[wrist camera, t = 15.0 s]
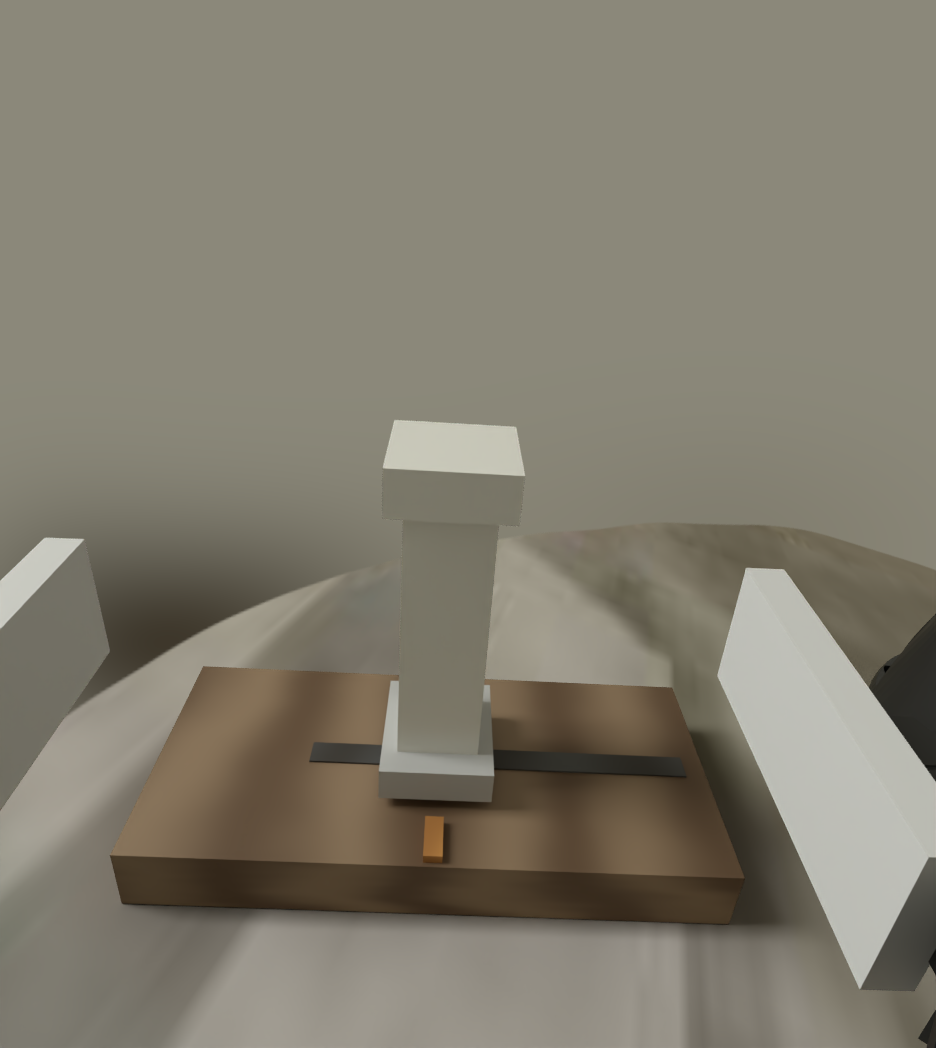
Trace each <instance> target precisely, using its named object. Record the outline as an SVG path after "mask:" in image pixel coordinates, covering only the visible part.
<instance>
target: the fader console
mask: <svg viewBox="0 0 936 1048" xmlns="http://www.w3.org/2000/svg"><path fill="white" fill-rule="evenodd" d="M391 681H399V675H381V674H359V673H337V672H315V671H293V670H271V669H249V668H227V667H204V666H203V668H202V670H201V672H200V674H199V676H198V678H197V680H196V682H195V684H194V686H193V688H192V690H191V692H190V694H189V697H188V699H187V701H186V703H185V705H184V707H183V709H182V711H181V713H180V715H179V717H178V719H177V721H176V723H175V725H174V727H173V729H172V731H171V733H170V735H169V737H168V739H167V741H166V743H165V745H164V747H163V749H162V751H161V753H160V755H159V757H158V759H157V761H156V763H155V765H154V767H153V769H152V772H151V774H150V776H149V778H148V780H147V782H146V784H145V786H144V788H143V790H142V792H141V794H140V796H139V798H138V800H137V802H136V804H135V806H134V808H133V810H132V812H131V814H130V816H129V818H128V820H127V822H126V824H125V826H124V828H123V830H122V832H121V834H120V836H119V838H118V840H117V842H116V844H115V846H114V849H113V851H112V853H111V855H110V857H111V861H112V865H113V869H114V873H115V877H116V882H117V886H118V890H119V894H120V898H121V902H122V903H127V904H156V905H185V906H214V907H243V908H272V909H301V910H330V911H359V912H388V913H417V914H446V915H476V916H505V917H534V918H563V919H592V920H621V921H650V922H679V923H708V924H729V922H730V919H731V916H732V913H733V911H734V908H735V905H736V902H737V899H738V897H739V894H740V891H741V888H742V885H743V883H744V880H745V877H744V875H743V872H742V869H741V867H740V864H739V862H738V859H737V856H736V854H735V851H734V848H733V846H732V843H731V841H730V838H729V835H728V833H727V830H726V827H725V825H724V822H723V820H722V817H721V814H720V812H719V809H718V807H717V804H716V801H715V799H714V796H713V793H712V791H711V788H710V786H709V783H708V780H707V778H706V775H705V772H704V770H703V767H702V765H701V762H700V759H699V757H698V754H697V752H696V749H695V746H694V744H693V741H692V738H691V736H690V733H689V731H688V728H687V725H686V723H685V720H684V717H683V715H682V712H681V710H680V707H679V704H678V702H677V699H676V696H675V694H674V691H673V689H672V688H667V687H645V686H623V685H601V684H579V683H557V682H535V681H513V680H491V679H485V681H484V685H490V700H491V720H492V740H493V761H494V783H493V792H492V801H491V802H472V801H446V800H421V799H396V798H378V796H379V765H380V758H381V750H382V743H383V736H384V728H385V721H386V713H387V706H388V698H389V691H390V683H391Z"/></svg>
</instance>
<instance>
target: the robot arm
mask: <svg viewBox="0 0 936 1048" xmlns="http://www.w3.org/2000/svg"><path fill="white" fill-rule="evenodd" d="M109 652H110V649H109V645H108V641H107V636H106V632H105V628H104V623H103V619H102V614H101V610H100V606H99V601H98V597H97V593H96V588H95V584H94V579H93V575H92V570H91V566H90V562H89V557H88V553H87V548H86V544H85V540H84V539H64V538H62V539H61V538H44V539H43V540H42V541H41V542H40V543H39V544H38V545H37V546H36V547H35V548H34V549H33V550H32V551H31V552H30V553H29V554H28V555H27V556H26V557H24V558H23V559H22V560H21V561H20V562H19V563H18V564H17V565H16V566H15V567H14V568H13V569H12V570H11V571H10V572H9V573H8V574H7V575H6V576H5V577H4V578H3V579H2V580H1V581H0V810H1V809H2V807H3V806H4V805H5V803H6V802H7V800H8V799H9V797H10V796H11V794H12V793H13V791H14V790H15V789H16V787H17V786H18V784H19V783H20V781H21V780H22V778H23V777H24V776H25V774H26V773H27V771H28V770H29V768H30V767H31V765H32V764H33V762H34V761H35V760H36V758H37V757H38V755H39V754H40V752H41V751H42V749H43V748H44V746H45V745H46V744H47V742H48V741H49V739H50V738H51V736H52V735H53V733H54V732H55V730H56V729H57V728H58V726H59V725H60V723H61V722H62V720H63V719H64V717H65V716H66V714H67V713H68V712H69V710H70V708H71V707H72V706H73V704H74V702H75V701H76V700H77V698H78V697H79V696H80V694H81V693H82V691H83V690H84V688H85V687H86V685H87V684H88V682H89V681H90V680H91V678H92V677H93V675H94V674H95V672H96V671H97V669H98V668H99V666H100V665H101V663H102V662H103V661H104V659H105V658H106V656H107V655H108V653H109ZM717 676H718V678H719V680H720V682H721V684H722V687H723V689H724V691H725V693H726V696H727V698H728V700H729V702H730V704H731V707H732V709H733V711H734V713H735V715H736V718H737V720H738V722H739V724H740V726H741V729H742V731H743V733H744V735H745V737H746V740H747V742H748V744H749V746H750V748H751V751H752V753H753V755H754V757H755V759H756V762H757V764H758V766H759V768H760V770H761V773H762V775H763V777H764V779H765V781H766V784H767V786H768V788H769V790H770V792H771V795H772V797H773V799H774V801H775V803H776V806H777V808H778V810H779V812H780V815H781V817H782V819H783V821H784V823H785V826H786V828H787V830H788V832H789V834H790V837H791V839H792V841H793V843H794V845H795V848H796V850H797V852H798V854H799V856H800V859H801V861H802V863H803V865H804V867H805V870H806V872H807V874H808V876H809V878H810V881H811V883H812V885H813V887H814V889H815V892H816V894H817V896H818V898H819V900H820V903H821V905H822V907H823V909H824V911H825V914H826V916H827V918H828V920H829V922H830V925H831V927H832V929H833V931H834V934H835V936H836V938H837V940H838V942H839V945H840V947H841V949H842V951H843V953H844V956H845V958H846V960H847V962H848V964H849V967H850V969H851V971H852V973H853V975H854V978H855V980H856V982H857V984H858V986H859V989H860V990H892V991H915V989H916V988H917V986H918V984H919V982H920V981H921V979H922V977H923V976H924V974H925V972H926V970H927V969H928V967H929V965H930V966H931V967H932V969H933V971H934V973H935V975H936V614H935V615H934V616H933V617H932V618H931V619H930V620H929V621H928V622H927V623H926V624H925V625H924V626H923V627H922V628H921V629H920V631H919V632H918V633H917V634H916V635H915V636H914V637H913V638H912V640H911V641H910V642H909V643H908V645H907V646H906V647H905V649H904V650H903V652H902V653H901V654H900V655H897V656H895V657H893V658H892V659H890V660H889V661H887V662H886V663H885V664H884V665H883V666H882V667H881V668H880V669H879V670H878V672H877V673H876V675H875V676H874V678H873V680H872V681H871V684H870V686H869V688H868V686H867V685H866V683H865V682H864V681H863V679H862V678H861V676H860V675H859V674H858V672H857V671H856V669H855V668H854V667H853V665H852V664H851V662H850V661H849V660H848V658H847V657H846V655H845V654H844V653H843V651H842V650H841V648H840V647H839V646H838V644H837V643H836V641H835V640H834V639H833V637H832V636H831V634H830V633H829V632H828V630H827V629H826V627H825V626H824V625H823V623H822V622H821V620H820V619H819V618H818V616H817V615H816V613H815V612H814V611H813V609H812V608H811V606H810V605H809V604H808V602H807V601H806V599H805V598H804V597H803V595H802V594H801V592H800V591H799V590H798V588H797V587H796V585H795V584H794V583H793V581H792V580H791V578H790V577H789V576H788V574H787V573H786V571H785V570H783V569H759V568H746V571H745V575H744V578H743V582H742V586H741V590H740V593H739V597H738V601H737V605H736V608H735V612H734V616H733V619H732V623H731V627H730V631H729V634H728V638H727V642H726V646H725V649H724V653H723V657H722V660H721V664H720V668H719V672H718V675H717ZM918 1039H920V1040H921V1041H923V1042H924V1043H926V1044H927V1048H936V1010H935V1012H934V1013H933V1015H932V1017H931V1018H930V1020H929V1022H928V1023H927V1025H926V1026H925V1028H924V1030H923V1031H922V1033H921V1034H920V1036H919V1038H918Z"/></svg>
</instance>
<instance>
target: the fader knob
mask: <svg viewBox="0 0 936 1048" xmlns="http://www.w3.org/2000/svg"><path fill="white" fill-rule="evenodd" d="M524 481H525V473H524V468H523V462H522V457H521V451H520V446H519V440H518V435H517V430H516V427H508V426H490V425H474V424H456V423H438V422H421V421H403V420H395V421H394V424H393V428H392V432H391V436H390V440H389V444H388V448H387V452H386V457H385V461H384V465H383V483H382V487H383V488H382V519H390V520H403V531H402V532H403V533H402V571H401V612H400V654H399V681H391V683H390V691H389V698H388V706H387V713H386V721H385V728H384V736H383V743H382V750H381V758H380V765H379V796H378V798H396V799H421V800H446V801H472V802H491V801H492V792H493V783H494V761H493V740H492V720H491V700H490V685H484V681H485V670H486V659H487V648H488V638H489V627H490V616H491V605H492V594H493V584H494V573H495V562H496V551H497V540H498V530H499V525H505V526H520V518H521V510H522V500H523V491H524Z"/></svg>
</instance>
